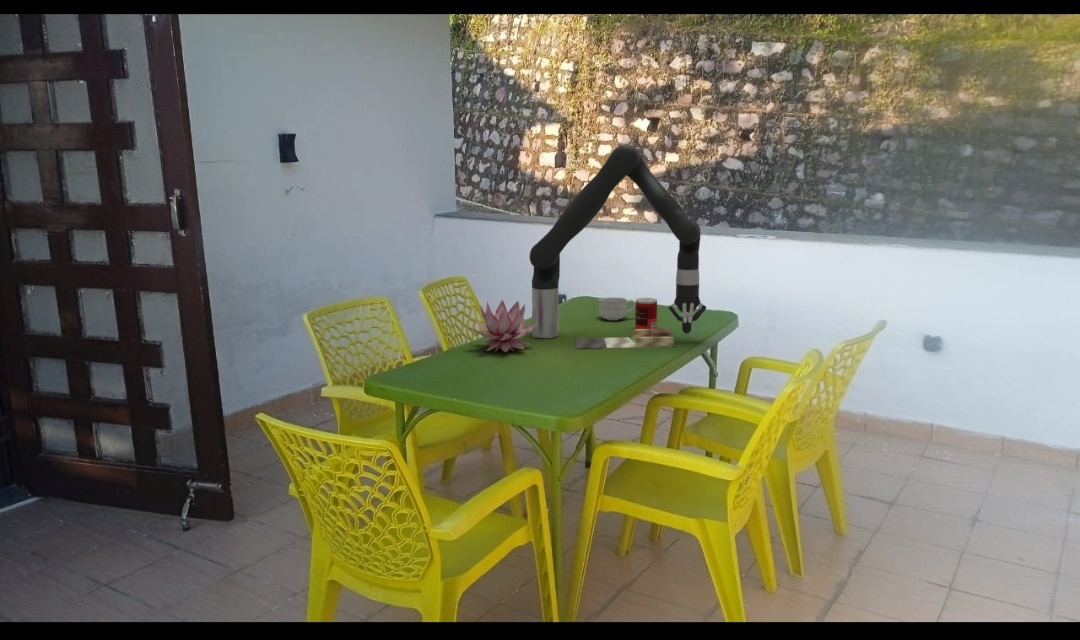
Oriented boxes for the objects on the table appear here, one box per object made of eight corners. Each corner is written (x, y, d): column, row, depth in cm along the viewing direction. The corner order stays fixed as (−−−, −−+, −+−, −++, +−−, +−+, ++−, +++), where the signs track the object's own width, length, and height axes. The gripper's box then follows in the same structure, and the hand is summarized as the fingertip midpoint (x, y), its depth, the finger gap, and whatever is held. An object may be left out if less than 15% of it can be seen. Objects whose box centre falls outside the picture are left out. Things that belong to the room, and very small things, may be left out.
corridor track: (576, 349, 266) (576, 339, 265) (574, 339, 278) (574, 329, 278) (673, 348, 266) (674, 337, 265) (667, 338, 278) (668, 328, 278)
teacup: (595, 321, 304) (595, 300, 302) (601, 315, 314) (601, 295, 312) (632, 323, 300) (632, 302, 298) (637, 317, 310) (637, 296, 308)
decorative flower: (528, 359, 255) (527, 312, 251) (463, 356, 259) (461, 310, 256) (541, 342, 275) (541, 298, 272) (481, 339, 279) (479, 297, 276)
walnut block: (652, 344, 269) (652, 332, 268) (650, 339, 275) (650, 328, 274) (670, 344, 269) (670, 332, 268) (667, 339, 275) (668, 328, 274)
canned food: (656, 327, 294) (656, 297, 292) (657, 332, 286) (657, 302, 284) (634, 327, 295) (635, 297, 292) (635, 332, 287) (635, 302, 285)
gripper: (669, 284, 264) (668, 336, 268) (709, 283, 264) (708, 335, 267) (665, 280, 271) (665, 330, 275) (705, 279, 271) (704, 330, 275)
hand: (686, 332), depth 271 cm, fingers closed
